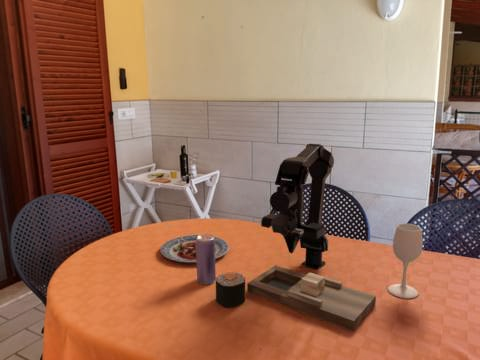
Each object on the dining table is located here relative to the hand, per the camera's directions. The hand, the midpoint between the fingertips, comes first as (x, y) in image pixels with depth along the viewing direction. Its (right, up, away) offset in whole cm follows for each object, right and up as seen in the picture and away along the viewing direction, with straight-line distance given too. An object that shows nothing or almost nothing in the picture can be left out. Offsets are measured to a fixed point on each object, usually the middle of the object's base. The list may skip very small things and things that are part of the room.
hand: (291, 252), depth 124 cm
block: (+6, -11, -2) cm, 12 cm away
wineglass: (+35, -13, +3) cm, 37 cm away
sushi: (-18, -14, -2) cm, 23 cm away
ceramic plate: (-32, -6, +33) cm, 47 cm away
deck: (+5, -14, -1) cm, 15 cm away
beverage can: (-26, -11, +10) cm, 30 cm away
